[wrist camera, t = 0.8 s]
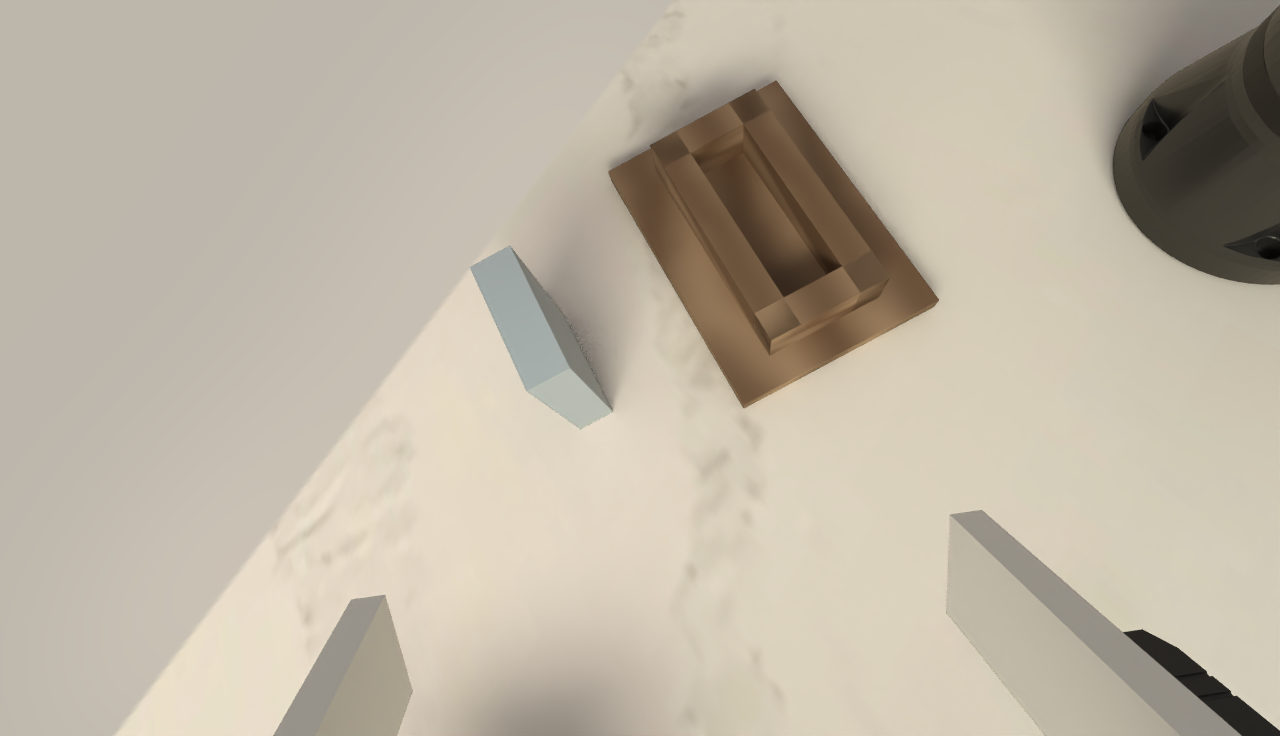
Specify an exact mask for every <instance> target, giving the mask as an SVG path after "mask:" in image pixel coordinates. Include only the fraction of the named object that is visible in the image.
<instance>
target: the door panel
mask: <svg viewBox="0 0 1280 736" xmlns="http://www.w3.org/2000/svg"><path fill="white" fill-rule="evenodd" d="M470 269H471V271H472V273H473V275H474V277H475V280H476V282H477V284H478V286H479V288H480V291H481V293H482V295H483V297H484V299H485V301H486V304H487V306H488V308H489V310H490V312H491V315H492V317H493V319H494V321H495V323H496V325H497V328H498V330H499V332H500V334H501V336H502V339H503V341H504V343H505V345H506V347H507V350H508V352H509V354H510V356H511V358H512V360H513V363H514V365H515V367H516V369H517V371H518V374H519V376H520V378H521V380H522V382H523V384H524V387H525V389H526V391H527V392H528V393H530V394H531V395H533V396H534V397H535V398H537V399H538V400H540V401H541V402H542V403H544V404H545V405H547V406H548V407H549V408H551V409H552V410H554V411H555V412H557V413H558V414H559V415H561V416H562V417H564V418H565V419H566V420H568V421H569V422H571V423H572V424H573V425H575V426H576V427H578V428H579V429H582V428H584V427H586V426H588V425H590V424H591V423H593V422H595V421H597V420H599V419H601V418H603V417H605V416H606V415H608V414H610V413H612V412H613V411H612V409H611V407H610V405H609V403H608V401H607V399H606V397H605V395H604V393H603V391H602V389H601V387H600V385H599V383H598V381H597V379H596V377H595V375H594V373H593V371H592V369H591V367H590V365H589V363H588V361H587V359H586V357H585V355H584V353H583V351H582V349H581V347H580V345H579V343H578V341H577V339H576V337H575V335H574V333H573V331H572V329H571V327H570V326H569V324H568V322H567V320H566V318H565V316H564V314H563V313H562V312H561V311H560V309H559V308H558V307H557V305H556V304H555V303H554V302H553V300H552V299H551V298H550V296H549V295H548V294H547V293H546V291H545V290H544V289H543V287H542V286H541V285H540V284H539V282H538V281H537V280H536V278H535V277H534V276H533V275H532V273H531V272H530V271H529V269H528V268H527V267H526V266H525V264H524V263H523V262H522V260H521V259H520V258H519V257H518V255H517V254H516V253H515V251H514V250H513V249H512V248H511V246H508V247H506V248H504V249H503V250H501V251H499V252H497V253H495V254H493V255H492V256H490V257H488V258H486V259H484V260H482V261H480V262H479V263H477V264H475V265H473V266H471V267H470Z"/></svg>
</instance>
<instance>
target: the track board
mask: <svg viewBox="0 0 1280 736" xmlns="http://www.w3.org/2000/svg"><path fill="white" fill-rule="evenodd" d="M650 146H651V149H649V150H647V151H645V152H644V153H642V154H640V155H638V156H636V157H634V158H632V159H631V160H629V161H627V162H625V163H623V164H621V165H620V166H618V167H616V168H614V169H612V170H610V171H608V172H609V175H610V178H611V181H612V182H613V184H614V186H615V187H616V189H617V191H618V193H619V194H620V196H621V198H622V200H623V201H624V203H625V205H626V206H627V208H628V210H629V212H630V213H631V215H632V217H633V219H634V220H635V222H636V224H637V225H638V227H639V229H640V231H641V232H642V234H643V236H644V237H645V239H646V241H647V243H648V244H649V246H650V248H651V250H652V251H653V253H654V255H655V256H656V258H657V260H658V262H659V263H660V265H661V267H662V269H663V270H664V272H665V274H666V275H667V277H668V279H669V281H670V282H671V284H672V286H673V287H674V289H675V291H676V293H677V294H678V296H679V298H680V300H681V301H682V303H683V305H684V306H685V308H686V310H687V312H688V313H689V315H690V317H691V319H692V320H693V322H694V324H695V325H696V327H697V329H698V331H699V332H700V334H701V336H702V337H703V339H704V341H705V343H706V344H707V346H708V348H709V350H710V351H711V353H712V355H713V356H714V358H715V360H716V362H717V363H718V365H719V367H720V369H721V370H722V372H723V374H724V375H725V377H726V379H727V381H728V382H729V384H730V386H731V387H732V389H733V391H734V393H735V394H736V396H737V398H738V400H739V401H740V403H741V405H742V406H743V408H746V407H747V406H749V405H751V404H753V403H755V402H757V401H759V400H761V399H762V398H764V397H766V396H768V395H770V394H772V393H774V392H776V391H777V390H779V389H781V388H783V387H785V386H787V385H789V384H790V383H792V382H794V381H796V380H798V379H800V378H802V377H804V376H805V375H807V374H809V373H811V372H813V371H815V370H817V369H819V368H820V367H822V366H824V365H826V364H828V363H830V362H832V361H833V360H835V359H837V358H839V357H841V356H843V355H845V354H847V353H848V352H850V351H852V350H854V349H856V348H858V347H860V346H862V345H863V344H865V343H867V342H869V341H871V340H873V339H875V338H876V337H878V336H880V335H882V334H884V333H886V332H888V331H890V330H891V329H893V328H895V327H897V326H899V325H901V324H903V323H905V322H906V321H908V320H910V319H912V318H914V317H916V316H918V315H919V314H921V313H923V312H925V311H927V310H929V309H931V308H933V307H934V306H935V305H936V303H937V302H938V301H939V299H938V298H937V296H936V295H935V294H934V292H933V291H932V290H931V288H930V287H929V286H928V284H927V283H926V282H925V280H924V279H923V277H922V276H921V275H920V273H919V272H918V271H917V269H916V268H915V267H914V265H913V264H912V263H911V261H910V260H909V259H908V257H907V256H906V255H905V253H904V252H903V251H902V249H901V248H900V246H899V245H898V244H897V242H896V241H895V240H894V238H893V237H892V236H891V234H890V233H889V232H888V230H887V229H886V228H885V226H884V225H883V224H882V222H881V221H880V220H879V218H878V217H877V215H876V214H875V213H874V211H873V210H872V209H871V207H870V206H869V205H868V203H867V202H866V201H865V199H864V198H863V197H862V195H861V194H860V193H859V191H858V190H857V189H856V187H855V186H854V184H853V183H852V182H851V180H850V179H849V178H848V176H847V175H846V174H845V172H844V171H843V170H842V168H841V167H840V166H839V164H838V163H837V162H836V160H835V159H834V157H833V156H832V155H831V153H830V152H829V151H828V149H827V148H826V147H825V145H824V144H823V143H822V141H821V140H820V139H819V137H818V136H817V135H816V133H815V132H814V131H813V129H812V128H811V126H810V125H809V124H808V122H807V121H806V120H805V118H804V117H803V116H802V114H801V113H800V112H799V110H798V109H797V108H796V106H795V105H794V104H793V102H792V101H791V100H790V98H789V97H788V95H787V94H786V93H785V91H784V90H783V89H782V87H781V86H780V85H779V83H778V82H777V81H775V82H773V83H771V84H769V85H767V86H765V87H764V88H762V89H760V90H758V91H756V90H755V89H753V90H752V91H750V92H748V93H746V94H744V95H742V96H740V97H739V98H737V99H735V100H733V101H731V102H729V103H728V104H726V105H724V106H722V107H720V108H718V109H716V110H715V111H713V112H711V113H709V114H707V115H705V116H704V117H702V118H700V119H698V120H696V121H694V122H692V123H691V124H689V125H687V126H685V127H683V128H681V129H680V130H678V131H676V132H674V133H672V134H670V135H668V136H667V137H665V138H663V139H661V140H659V141H657V142H656V143H654V144H652V145H650Z"/></svg>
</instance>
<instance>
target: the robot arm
mask: <svg viewBox="0 0 1280 736" xmlns="http://www.w3.org/2000/svg"><path fill="white" fill-rule="evenodd" d="M1113 166H1114V178H1115V183H1116V188H1117V191H1118V194H1119V196H1120V199H1121V201H1122V203H1123V205H1124V207H1125V209H1126V211H1127V213H1128V214H1129V216H1130V217H1131V219H1132V220H1133V221H1134V223H1135V224H1136V225H1137V226H1138V228H1139V229H1140V230H1141V231H1142V232H1143V233H1144V234H1145V235H1146V236H1147V237H1148V238H1149V239H1150V240H1151V241H1152V242H1153V243H1154V244H1156V245H1157V246H1158V247H1159V248H1161V249H1162V250H1163V251H1165V252H1166V253H1168V254H1169V255H1171V256H1172V257H1174V258H1176V259H1177V260H1179V261H1181V262H1183V263H1185V264H1186V265H1188V266H1191V267H1193V268H1195V269H1197V270H1200V271H1202V272H1205V273H1207V274H1210V275H1214V276H1217V277H1220V278H1224V279H1228V280H1233V281H1238V282H1244V283H1251V284H1271V285H1274V284H1280V6H1279V7H1278V8H1277V9H1276V10H1275V11H1274V12H1273V13H1272V14H1271V15H1270V16H1269V17H1268V18H1267V19H1266V20H1265V21H1264V22H1262V23H1261V24H1260V25H1259V26H1258V27H1256V28H1255V29H1253V30H1251V31H1249V32H1247V33H1246V34H1244V35H1242V36H1240V37H1239V38H1237V39H1235V40H1233V41H1232V42H1230V43H1228V44H1226V45H1224V46H1223V47H1221V48H1219V49H1217V50H1216V51H1214V52H1212V53H1210V54H1209V55H1207V56H1205V57H1203V58H1202V59H1200V60H1198V61H1196V62H1194V63H1193V64H1191V65H1189V66H1187V67H1186V68H1184V69H1182V70H1181V71H1179V72H1177V73H1176V74H1174V75H1173V76H1171V77H1170V78H1169V79H1168V80H1166V81H1165V82H1164V83H1163V84H1161V85H1160V86H1159V87H1158V88H1157V89H1156V90H1155V91H1154V92H1153V93H1152V94H1151V95H1150V96H1149V97H1148V98H1147V99H1146V100H1145V102H1144V103H1143V104H1142V105H1141V106H1140V107H1139V108H1138V109H1137V110H1136V111H1135V113H1134V114H1133V115H1132V116H1131V117H1130V119H1129V120H1128V121H1127V123H1126V124H1125V126H1124V128H1123V130H1122V132H1121V134H1120V136H1119V138H1118V141H1117V144H1116V148H1115V153H1114V163H1113ZM946 613H947V614H948V615H949V617H950V618H951V619H952V620H953V622H954V623H955V624H956V625H957V627H958V628H959V629H960V630H961V632H962V633H963V634H964V635H965V637H966V638H967V639H968V640H969V642H970V643H971V644H972V645H973V647H974V648H975V649H976V650H977V652H978V653H979V654H980V655H981V657H982V658H983V659H984V660H985V662H986V663H987V664H988V665H989V667H990V668H991V669H992V670H993V672H994V673H995V674H996V675H997V677H998V678H999V679H1000V680H1001V682H1002V683H1003V684H1004V685H1005V687H1006V688H1007V689H1008V690H1009V692H1010V693H1011V694H1012V695H1013V697H1014V698H1015V699H1016V700H1017V702H1018V703H1019V704H1020V705H1021V707H1022V708H1023V709H1024V710H1025V712H1026V713H1027V714H1028V715H1029V717H1030V718H1031V719H1032V720H1033V722H1034V723H1035V724H1036V725H1037V727H1038V728H1039V729H1040V730H1041V732H1042V733H1043V734H1044V735H1045V736H1280V731H1279V730H1278V729H1277V728H1276V727H1274V726H1273V725H1272V724H1271V723H1270V722H1268V721H1267V720H1266V719H1265V718H1263V717H1262V716H1261V715H1260V714H1258V713H1257V712H1256V711H1255V710H1254V709H1252V708H1251V707H1250V706H1249V705H1247V704H1246V703H1245V702H1244V701H1242V700H1241V699H1240V698H1239V697H1238V696H1233V695H1232V694H1231V691H1230V690H1229V689H1228V688H1226V687H1225V686H1224V685H1223V684H1222V683H1220V682H1219V681H1218V680H1217V679H1215V678H1214V677H1213V676H1208V674H1207V671H1206V670H1204V669H1203V668H1202V667H1201V666H1199V665H1198V664H1197V663H1196V662H1195V661H1193V660H1192V659H1191V658H1190V657H1188V656H1187V655H1186V654H1185V653H1183V652H1182V651H1181V650H1180V649H1179V648H1177V647H1175V646H1173V645H1171V644H1169V643H1167V642H1165V641H1164V640H1162V639H1160V638H1158V637H1156V636H1154V635H1152V634H1150V633H1148V632H1146V631H1144V630H1143V629H1142V630H1136V631H1129V632H1122V631H1121V630H1119V629H1118V628H1117V627H1116V626H1115V625H1114V624H1113V623H1111V622H1110V621H1109V620H1108V619H1107V618H1106V617H1104V616H1103V615H1102V614H1101V613H1100V612H1099V611H1098V610H1096V609H1095V608H1094V607H1093V606H1092V605H1091V604H1090V603H1088V602H1087V601H1086V600H1085V599H1084V598H1083V597H1081V596H1080V595H1079V594H1078V593H1077V592H1076V591H1075V590H1073V589H1072V588H1071V587H1070V586H1069V585H1068V584H1066V583H1065V582H1064V581H1063V580H1062V579H1061V578H1060V577H1058V576H1057V575H1056V574H1055V573H1054V572H1053V571H1052V570H1050V569H1049V568H1048V567H1047V566H1046V565H1045V564H1043V563H1042V562H1041V561H1040V560H1039V559H1038V558H1037V557H1035V556H1034V555H1033V554H1032V553H1031V552H1030V551H1028V550H1027V549H1026V548H1025V547H1024V546H1023V545H1022V544H1020V543H1019V542H1018V541H1017V540H1016V539H1015V538H1014V537H1012V536H1011V535H1010V534H1009V533H1008V532H1007V531H1005V530H1004V529H1003V528H1002V527H1001V526H1000V525H999V524H997V523H996V522H995V521H994V520H993V519H992V518H990V517H989V516H988V515H987V514H986V513H985V512H984V511H982V510H979V511H972V512H965V513H958V514H951V515H950V526H949V550H948V575H947V599H946ZM412 691H413V690H412V687H411V683H410V680H409V676H408V673H407V669H406V666H405V662H404V659H403V655H402V652H401V648H400V645H399V641H398V638H397V635H396V631H395V628H394V624H393V621H392V617H391V614H390V610H389V607H388V603H387V600H386V596H385V595H381V596H374V597H367V598H360V599H353V600H351V601H350V603H349V604H348V606H347V608H346V610H345V611H344V613H343V615H342V617H341V618H340V620H339V622H338V624H337V625H336V627H335V629H334V631H333V632H332V634H331V636H330V638H329V639H328V641H327V643H326V645H325V646H324V648H323V650H322V652H321V653H320V655H319V657H318V659H317V660H316V662H315V664H314V666H313V667H312V669H311V671H310V673H309V674H308V676H307V678H306V680H305V681H304V683H303V685H302V687H301V688H300V690H299V692H298V694H297V695H296V697H295V699H294V701H293V702H292V704H291V706H290V708H289V709H288V711H287V713H286V715H285V716H284V718H283V720H282V722H281V723H280V725H279V727H278V729H277V730H276V732H275V734H274V735H273V736H397V734H398V731H399V728H400V725H401V723H402V720H403V717H404V714H405V711H406V708H407V706H408V703H409V700H410V697H411V694H412Z"/></svg>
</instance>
